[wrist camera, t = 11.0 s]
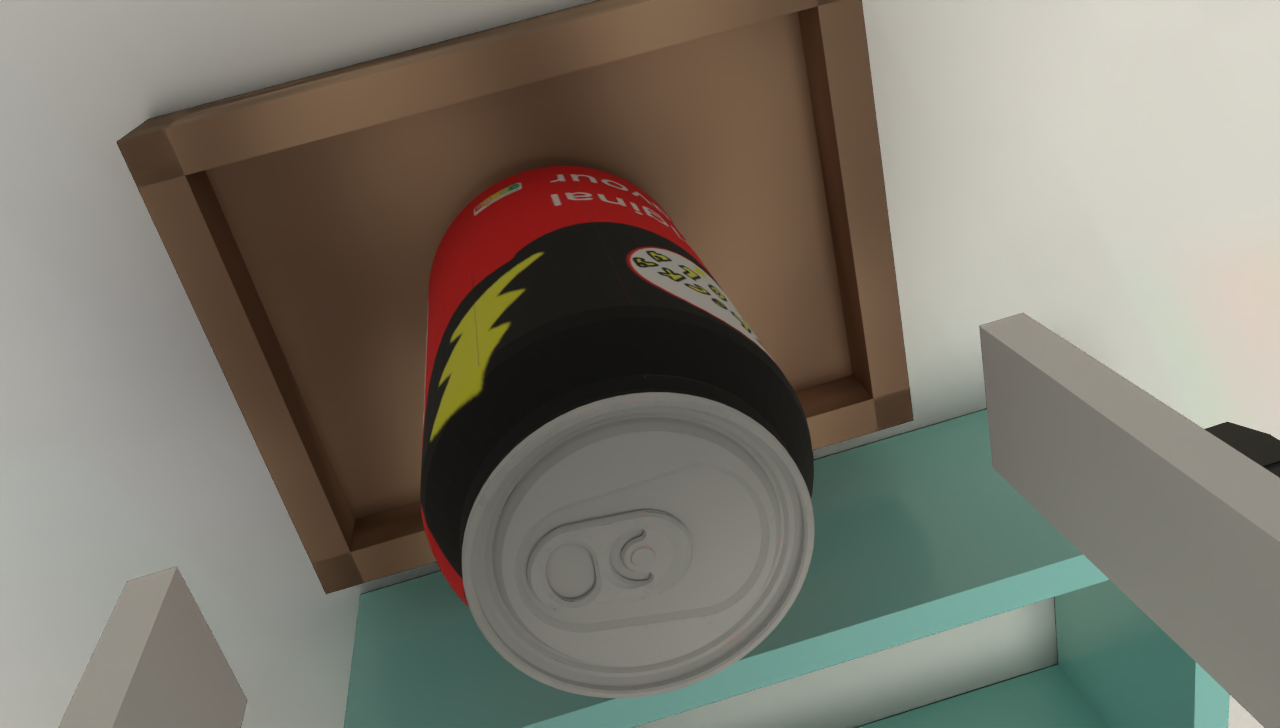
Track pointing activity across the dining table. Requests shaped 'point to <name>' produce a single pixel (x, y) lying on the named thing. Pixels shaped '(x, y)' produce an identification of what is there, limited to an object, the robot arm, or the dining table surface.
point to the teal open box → (837, 614)
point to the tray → (486, 154)
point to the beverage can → (605, 442)
